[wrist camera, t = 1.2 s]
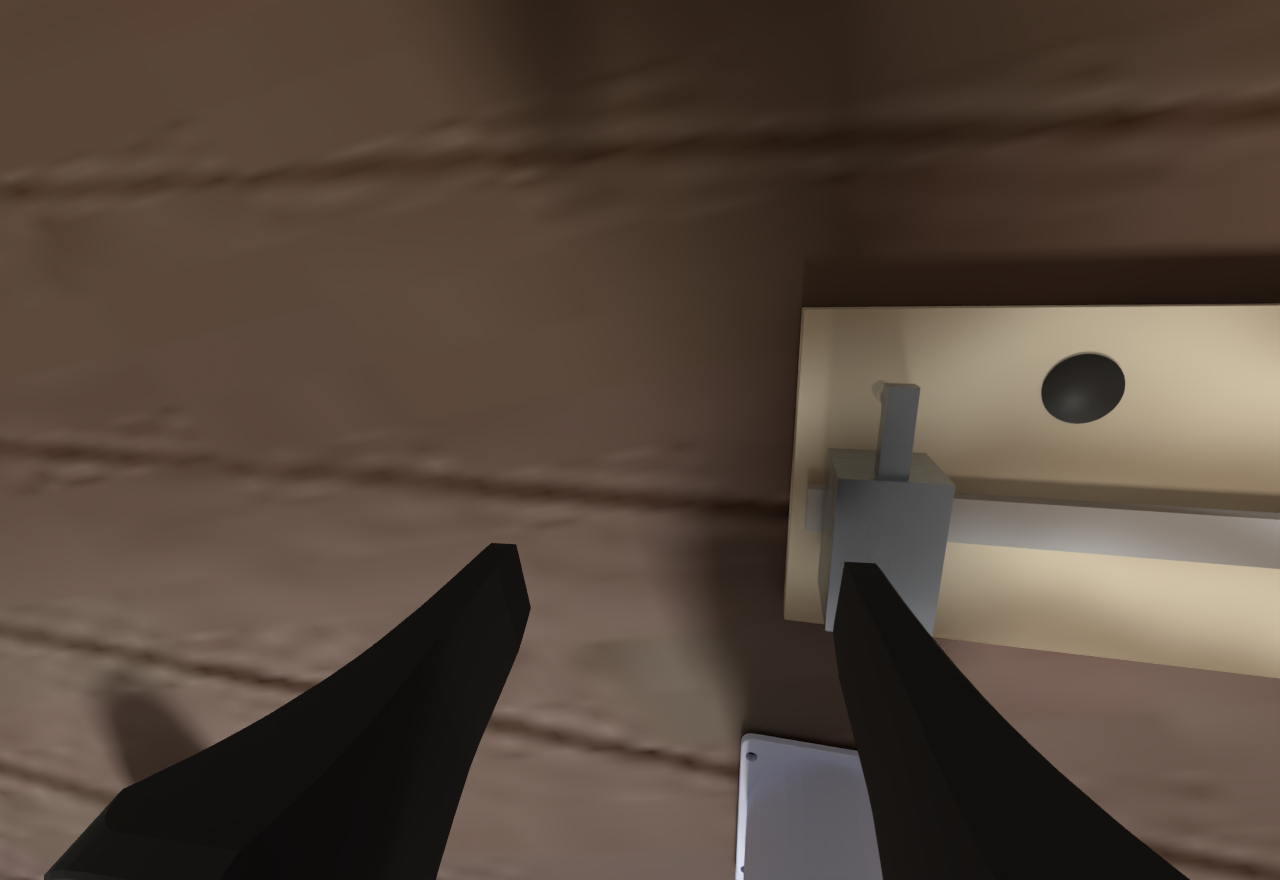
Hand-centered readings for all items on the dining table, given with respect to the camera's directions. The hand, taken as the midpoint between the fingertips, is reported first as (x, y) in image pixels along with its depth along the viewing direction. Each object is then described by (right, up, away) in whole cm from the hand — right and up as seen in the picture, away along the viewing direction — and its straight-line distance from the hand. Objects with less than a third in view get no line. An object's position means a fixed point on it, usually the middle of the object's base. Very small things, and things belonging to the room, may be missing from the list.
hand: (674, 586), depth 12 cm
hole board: (+16, +2, +7) cm, 18 cm away
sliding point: (+7, +2, +6) cm, 10 cm away
